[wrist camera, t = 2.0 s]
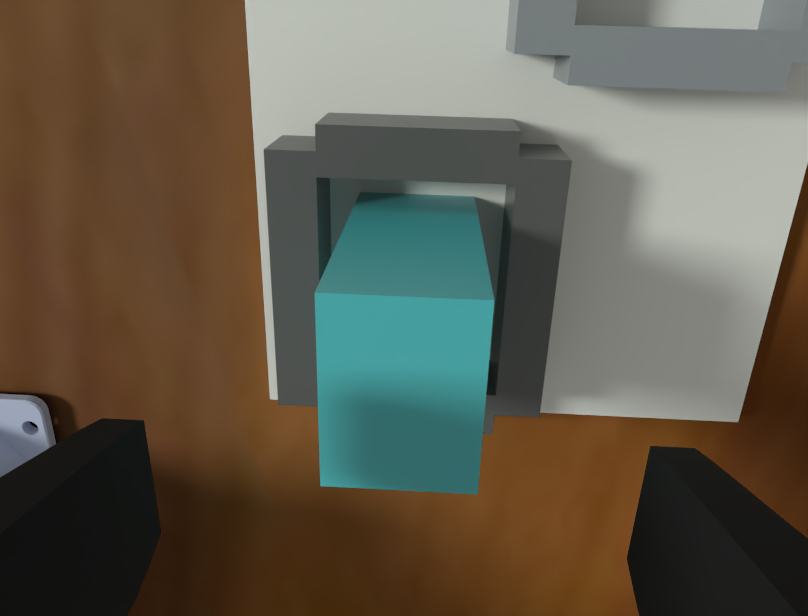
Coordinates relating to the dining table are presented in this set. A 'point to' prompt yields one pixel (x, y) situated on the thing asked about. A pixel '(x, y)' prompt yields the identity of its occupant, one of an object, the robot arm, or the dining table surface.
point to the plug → (404, 346)
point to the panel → (546, 180)
